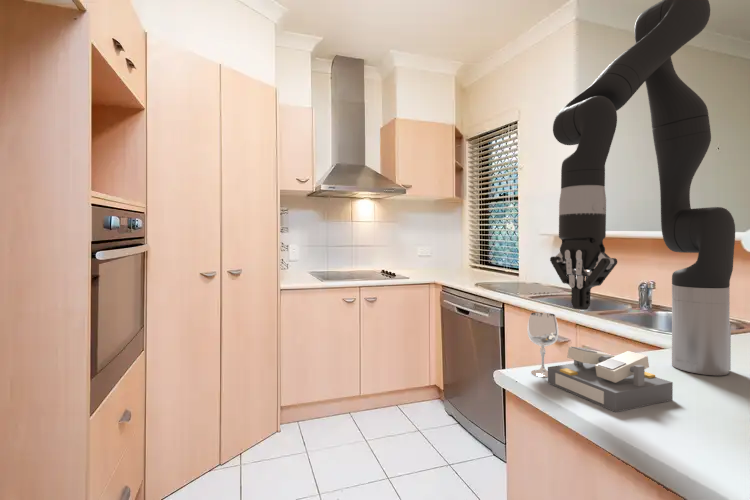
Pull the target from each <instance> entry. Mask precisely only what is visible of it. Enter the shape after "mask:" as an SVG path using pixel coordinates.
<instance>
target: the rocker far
mask: <svg viewBox="0 0 750 500" xmlns="http://www.w3.org/2000/svg"><path fill="white" fill-rule="evenodd" d="M614 356H615V357H613V358H610V359H608V360H606V361H603V362H601V363H599V364H596V365H595V368H596V374H597V376H598V377H601V378H603V379H606V380H609V381H612V382H615V383H616V382H618V381H620V380H623V379H625V378H627V377H629V376H631V375H633V374H634V366H635V365H642V366H644V370H646V369H648V368H650V364H649V363H650V362H649V357H648V355H646V354H642V353H637V352H633V351H630V350H626V351H625V352H622V353H619V354H617V355H614Z"/></svg>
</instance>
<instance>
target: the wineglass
mask: <svg viewBox="0 0 750 500" xmlns="http://www.w3.org/2000/svg"><path fill="white" fill-rule="evenodd" d="M529 314H530V315H529V318H528V321H527V329H526V330H527V336H528V338H529V340H530V342H532V343H533V344H535V345H536V346H539V347H541V348H540V350H539V353H540V357H541V366H540V368H539V369H534V370H531V371H530V374H531V375H533V376H535V377H540V378H548V369H546V368H545V357H546V356H545V355H546V347H548V346H549V347H550V346H552V345H553V344H555V343H556V342H557V341H558V339H559V338H558V337H559V324H558V320H557V317H556V314H554V313H549V312H531V313H529Z"/></svg>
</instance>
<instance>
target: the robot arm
mask: <svg viewBox="0 0 750 500" xmlns="http://www.w3.org/2000/svg"><path fill="white" fill-rule="evenodd" d="M710 17H711V4H710V1H709V0H660V1H659V2H656V3H655V4H654V5H651V6H650V7H649V8H647V9H645V10H644V11H642V12H641V13H640V14H639V15H638V16H637V18H636V21H635V24H634V31H633V32H634V42H635V44H633V45H632V46H631V47H629V48H628V49H627V50H625V51H624V52H623V53H621V54H620V55H618V56H617V57H616V58H615V59H613V61H612V62H611V63H610V64H609V65H607V67H606V68H605V69H604V70H603V71H602V72H601V73H600V74H599V75H598V76H597V78H595V80H594V81H593V83H592V84H591V85H590V86H588V87H586V88H585V90H583V91H581V92H580V93H579V94H578V95H577V96H576V97H574V98H573V99H571V100H570V101H569V102H568V103H566V105H565V106H563V107H562V108H561V109H560V111H559V112H558V113H557V115H556V116H555V117H554V120H553V124H552V133H553V136H554V138H555V140H557V142H558V143H560V144H562V145H565V146H575V145H577V147H576V150H575V151H574V152H573V153H572V154H570V155H568V156H567V157H566V158H564V159H563V161H562V163H561V168H560V170H561V172H560V173H561V175H560V176H561V177H560V195H559V201H558V203H559V205H558V216H559V217H558V238H559V239H560V240H561V245H560V247H559V253H558V254H556V255H555V256H551V257H550V258H549V261H550V263H551V265H552V267H553V268H554V270H555V271H556V273H557V276H558V277H559V279H560V281H561V283H562V284H566V285H569V287H570V289H571V294H570V295H571V301H570V302H571V305H572V308H573V309H575V310H579V311H580V310H581V311H583V310H584V311H586V310H588V309H589V308H590V306H591V291H592V288H594V287H599V286H601V285H602V284H603V283H604V281H605V280H606V279H607V277H608V276H609V275H610V274H611V272H612V271H613V270H614V269H615V267H616V266H617V264H618V259H617V258H615V257H614V258H613V257H610V256H609V255H608V254H607V253H606V247H605V245H604V239H606V236H607V234H606V232H607V227H606V226H607V225H606V224H607V197H606V188H605V186H606V162H607V159H608V156H609V153H610V149H611V147H612V143H613V141H614V137H615V133H616V128H617V124H618V114H617V111H619V110H620V109H622V108H623V107H624V106H625V105H626V104H627V103H628V101H630V99H631V98H632V97H633V96H634V95H635V93H637V92H638V90H639V89H640V88H641V87H642V86H643V84H644V83H645V88H646V92H647V97H648V98H647V99H648V105H649V110H650V121H651V130H652V139H653V146H654V150H655V155H656V162H657V163H656V164H657V170H658V171H657V172H658V178H659V190H660V191H659V193H660V197H659V198H660V227H661V234H662V239H663V242H664V244H665V245H666V247H667V248H668V249H669V250H670V251H672V252H674V253H690V254H692V253H693V254H697V259H696V261H695V262H694V263H693V264H691V265H690V266H688V267H685V268H681V269H678V270H674V271H673V272H672V274H671V365H672V366H673V368H676V369H678V370H681V371H684V372H689V373H693V374H698V375H707V376H727V375H729V374H730V371H731V369H732V368H731V367H732V366H731V365H732V364H731V363H732V362H731V357H732V356H731V355H732V353H731V352H732V350H731V347H732V345H731V343H732V342H731V341H732V340H731V339H732V338H731V337H732V336H731V335H732V333H731V331H732V327H731V323H730V318H731V317H730V316H731V315H730V313H731V312H730V310H731V309H730V307H731V305H730V303H731V302H730V292H731V291H730V284H731V283H730V282H731V278H732V273H733V269H734V259H735V258H734V255H735V246H736V245H735V244H736V243H735V242H736V223H735V219H734V217H733V215H732V213H731V212H730V211H729V209H727V208H724V207H721V206H710V207H701V208H700V207H699V208H691V207H692V206H691V199H690V198H691V196H690V195H691V194H690V193H691V185H692V182H693V179H694V177H695V175H696V172H697V171H698V169H699V168H700V166H701V164H702V162H703V159H704V158H705V156H706V154H707V152H708V150H709V148H710V144H711V142H712V133H711V132H712V130H711V124H710V122H711V121H710V115H709V110H708V106H707V105H706V102H705V101H704V100H703V99H702V98H701V97H700V96H699V94H697V93H696V92H695V91H694V90H693V89H692V88H691V87H690V86H688V85H687V84H686V83H685V82H684V81H683V80H682V79H681V78H680V76H679V75H678V74H677V72H676V70H675V67H674V63H673V60H672V56H673V55H674V54H676V52H678V50H680V49H681V48H682V47H684V46H685V45H686V44H688V42H690V41H691V40H692V39H694V38H695V37H697V36H698V35H699V34H700V33H701V32H702V31H703V30H704V29H705V28H706V26H707V25H708V23H709V19H710Z"/></svg>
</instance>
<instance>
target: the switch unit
mask: <svg viewBox="0 0 750 500" xmlns="http://www.w3.org/2000/svg"><path fill="white" fill-rule="evenodd" d="M577 347H578V346H577ZM578 348H582V347H581V346H579V347H578ZM610 358H611V356H608V355H605V356H601V362H603V361H606V360H608V359H610ZM595 365H596V364H589V363H582V362H579V361H576V360H573V363H566V364H558V365H552V366H547V371H548V377H547V383H548V384H549V385H552V386H554V387H557V388H559V389H561V390H564V391H566V392H567V393H568V392H569V393H570V394H573V395H575V396H577V397H580V398H582V399H585V400H586V401H589V402H592V403H593V404H596V405H598V406H601V407H603V408H605V409H607V410H610V411H612V412H613V413H614V412H615V413H618V412H622V411H627V410H633V409H637V408H642V407H647V406H650V405H656V404H661V403H666V402H670V401H673V395H674V394H673V387H674V386H673V385H674V383H673V381H670V380H667V379H663V378H660V377H657V376H656V374H653V373H651V372H647V371H645V369H644V366H642V365H635V366H634V374H633V375H631V376H629V377H627V378H625V379H623V380H620V381H618V382H616V383H615V382H612V381H609V380H606V379H603V378H601V377H598V376H597V374H596V368H595Z"/></svg>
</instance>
